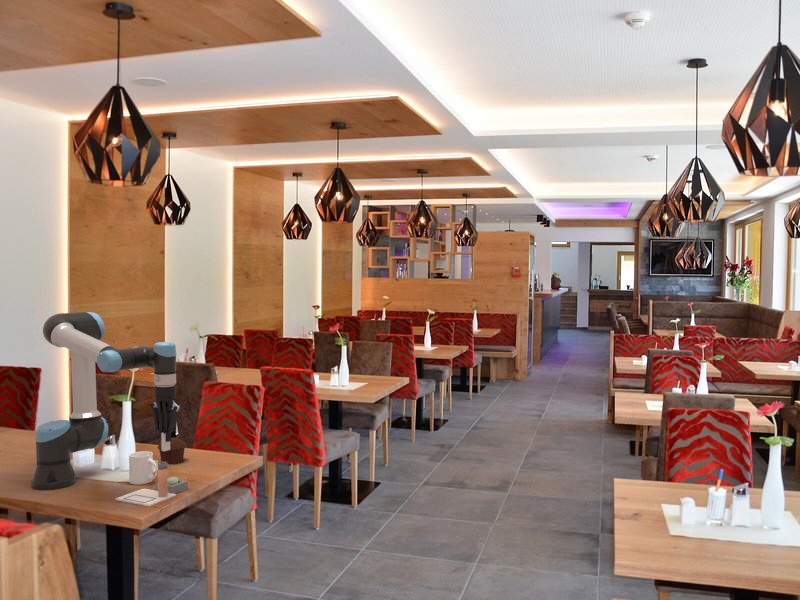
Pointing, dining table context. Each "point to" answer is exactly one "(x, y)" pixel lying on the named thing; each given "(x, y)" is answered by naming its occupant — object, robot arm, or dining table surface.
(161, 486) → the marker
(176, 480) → the button
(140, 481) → the mug
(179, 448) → the muffin
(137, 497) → the sheet
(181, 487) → the button housing
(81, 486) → the dining table surface
